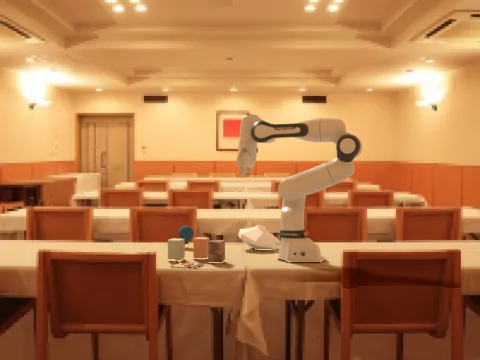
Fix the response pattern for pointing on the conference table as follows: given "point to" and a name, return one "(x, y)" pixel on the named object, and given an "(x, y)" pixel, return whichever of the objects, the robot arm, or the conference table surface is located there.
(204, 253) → the terracotta block
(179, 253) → the sage block
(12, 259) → the conference table surface
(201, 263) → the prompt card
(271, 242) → the paper
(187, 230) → the light bulb
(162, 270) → the conference table surface
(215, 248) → the walnut block
